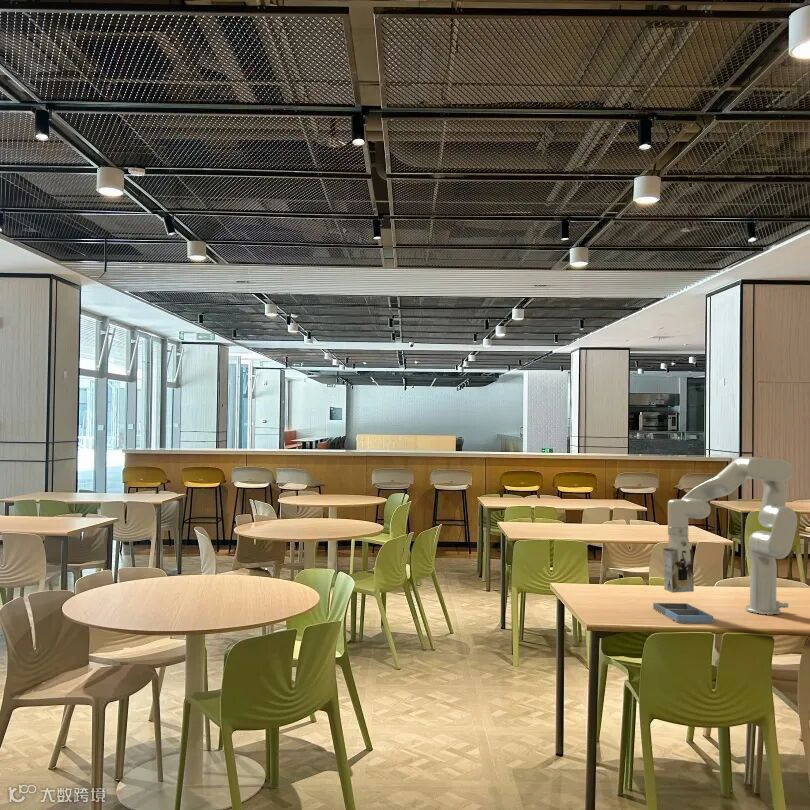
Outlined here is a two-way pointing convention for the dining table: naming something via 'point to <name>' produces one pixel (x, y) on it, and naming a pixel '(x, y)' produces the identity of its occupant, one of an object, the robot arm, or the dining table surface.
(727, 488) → the robot arm
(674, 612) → the bay tray
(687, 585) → the coffee box
